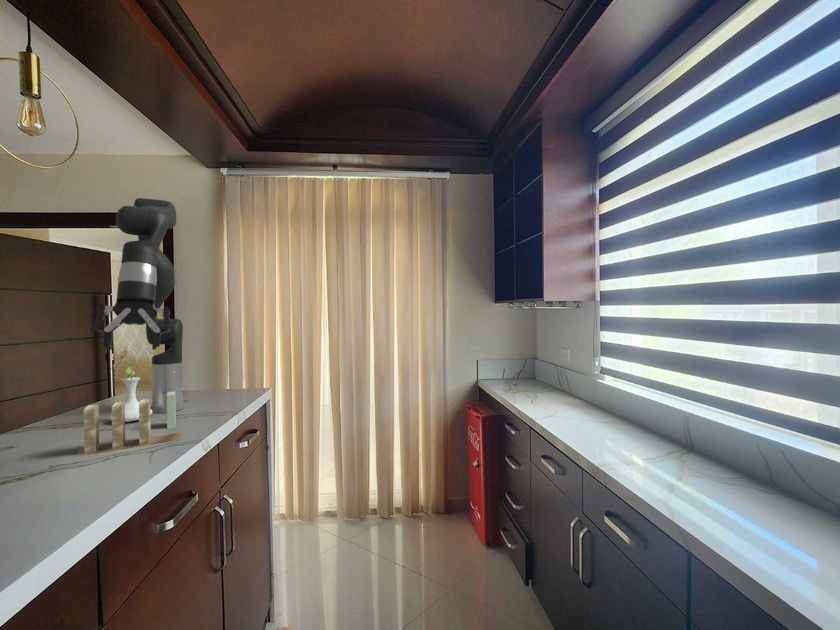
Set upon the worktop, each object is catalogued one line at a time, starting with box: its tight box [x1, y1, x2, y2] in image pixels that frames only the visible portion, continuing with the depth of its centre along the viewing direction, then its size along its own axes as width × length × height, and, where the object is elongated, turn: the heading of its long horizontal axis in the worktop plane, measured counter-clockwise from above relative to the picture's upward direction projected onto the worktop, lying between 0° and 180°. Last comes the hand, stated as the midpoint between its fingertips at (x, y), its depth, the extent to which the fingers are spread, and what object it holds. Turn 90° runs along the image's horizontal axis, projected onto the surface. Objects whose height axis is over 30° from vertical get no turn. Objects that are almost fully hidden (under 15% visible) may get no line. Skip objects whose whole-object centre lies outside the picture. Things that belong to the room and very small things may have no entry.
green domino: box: [166, 391, 177, 429], centre depth 115 cm, size 2×5×11 cm, turn 32°
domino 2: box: [138, 398, 152, 445], centre depth 101 cm, size 2×5×11 cm, turn 32°
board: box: [73, 432, 182, 458], centre depth 100 cm, size 22×7×1 cm, turn 122°
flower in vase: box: [109, 345, 154, 423], centre depth 123 cm, size 13×11×25 cm
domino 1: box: [111, 401, 126, 449], centre depth 98 cm, size 2×5×11 cm, turn 32°
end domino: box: [83, 403, 100, 454], centre depth 95 cm, size 2×5×11 cm, turn 31°
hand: (132, 349), depth 88 cm, fingers open, 8 cm apart
